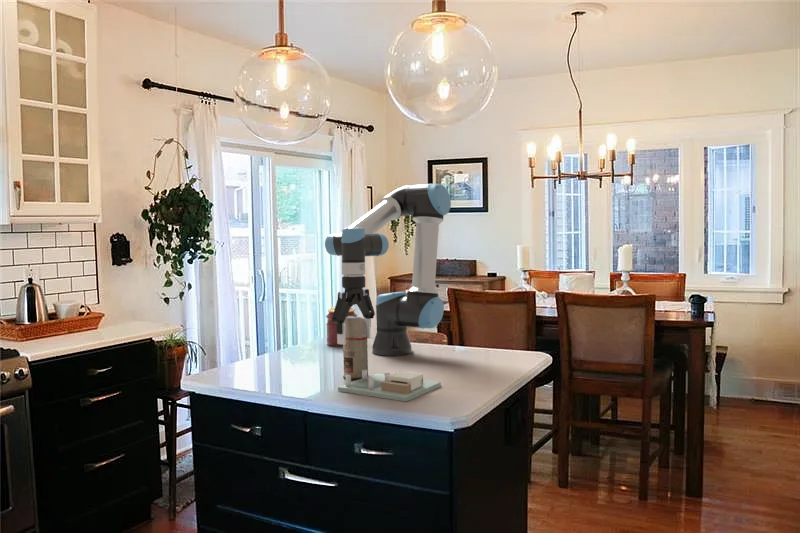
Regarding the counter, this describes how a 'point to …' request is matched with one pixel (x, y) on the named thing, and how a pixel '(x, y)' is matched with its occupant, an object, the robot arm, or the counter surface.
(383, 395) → the board
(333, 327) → the canister
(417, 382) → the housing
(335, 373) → the counter surface
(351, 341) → the spray can
